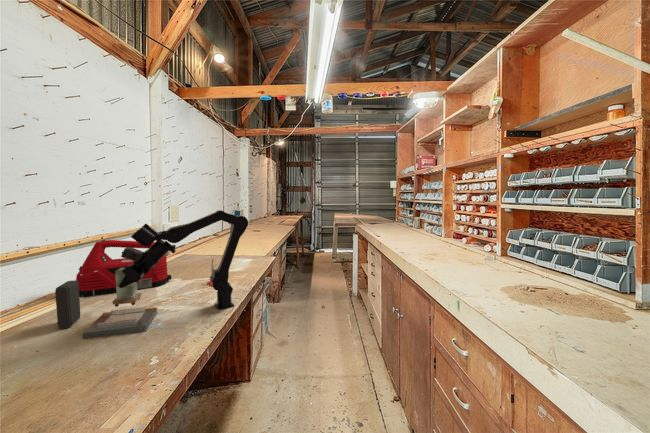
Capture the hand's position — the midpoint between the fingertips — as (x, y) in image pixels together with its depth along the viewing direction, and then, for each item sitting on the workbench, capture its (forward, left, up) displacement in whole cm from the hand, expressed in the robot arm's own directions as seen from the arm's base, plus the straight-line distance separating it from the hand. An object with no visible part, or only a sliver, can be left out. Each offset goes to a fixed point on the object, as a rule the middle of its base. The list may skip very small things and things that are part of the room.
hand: (122, 285), depth 106 cm
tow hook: (+25, -41, -14) cm, 50 cm away
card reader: (+8, +16, -14) cm, 23 cm away
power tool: (+45, -2, -14) cm, 47 cm away
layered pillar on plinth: (0, -1, -7) cm, 7 cm away
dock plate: (-4, 0, -13) cm, 14 cm away
